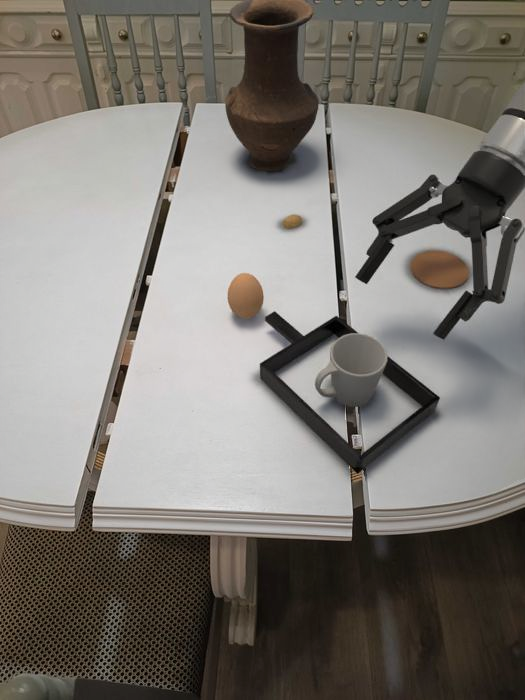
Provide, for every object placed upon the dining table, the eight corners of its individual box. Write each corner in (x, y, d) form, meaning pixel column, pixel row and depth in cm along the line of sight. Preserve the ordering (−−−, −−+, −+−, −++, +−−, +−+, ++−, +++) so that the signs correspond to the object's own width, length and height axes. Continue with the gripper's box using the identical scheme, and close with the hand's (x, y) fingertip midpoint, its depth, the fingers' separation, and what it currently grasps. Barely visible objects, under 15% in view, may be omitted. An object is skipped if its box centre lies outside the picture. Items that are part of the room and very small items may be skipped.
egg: (239, 298, 90) (236, 259, 84) (269, 308, 89) (269, 269, 82) (223, 320, 87) (218, 282, 81) (254, 331, 85) (253, 292, 79)
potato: (304, 224, 104) (305, 216, 102) (286, 230, 102) (286, 222, 101) (298, 217, 105) (298, 209, 104) (280, 223, 104) (280, 215, 103)
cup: (388, 401, 76) (399, 364, 69) (327, 427, 73) (332, 390, 67) (360, 364, 80) (367, 325, 74) (301, 387, 78) (304, 349, 71)
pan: (434, 412, 74) (440, 397, 72) (357, 474, 68) (360, 460, 66) (305, 307, 89) (306, 291, 86) (232, 350, 83) (230, 335, 80)
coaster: (480, 272, 93) (480, 270, 93) (443, 297, 89) (444, 295, 89) (435, 245, 99) (435, 243, 98) (398, 267, 95) (398, 265, 94)
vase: (218, 178, 115) (205, 23, 92) (241, 135, 127) (234, -11, 104) (306, 188, 112) (314, 30, 89) (321, 143, 124) (332, -6, 101)
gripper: (601, 221, 62) (482, 366, 67) (431, 139, 75) (344, 267, 80) (597, 198, 55) (467, 360, 61) (414, 114, 68) (320, 253, 74)
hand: (397, 307), depth 70 cm, fingers open, 13 cm apart
